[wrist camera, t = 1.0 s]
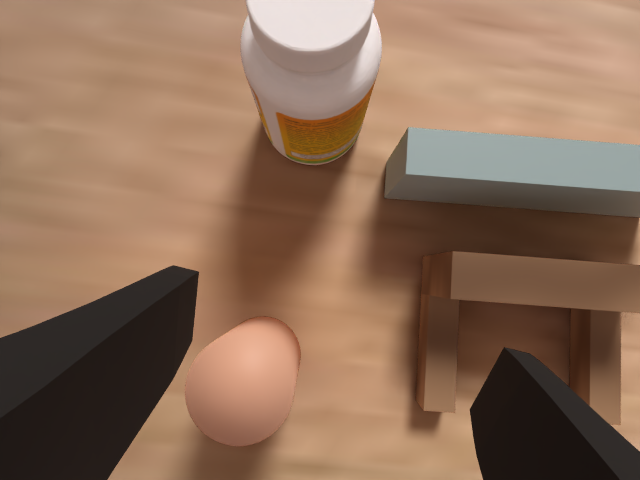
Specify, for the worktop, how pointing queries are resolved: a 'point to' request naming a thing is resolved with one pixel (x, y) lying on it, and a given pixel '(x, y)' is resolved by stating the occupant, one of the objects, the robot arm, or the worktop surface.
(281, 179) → the worktop surface
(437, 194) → the backstop board
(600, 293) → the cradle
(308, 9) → the supplement bottle
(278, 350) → the pink egg shape
